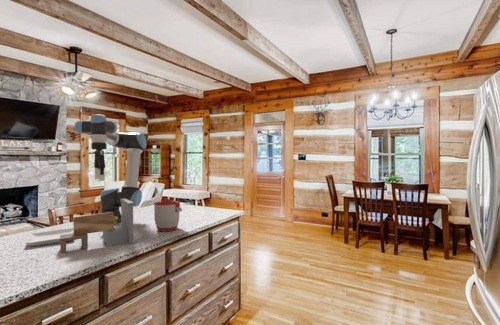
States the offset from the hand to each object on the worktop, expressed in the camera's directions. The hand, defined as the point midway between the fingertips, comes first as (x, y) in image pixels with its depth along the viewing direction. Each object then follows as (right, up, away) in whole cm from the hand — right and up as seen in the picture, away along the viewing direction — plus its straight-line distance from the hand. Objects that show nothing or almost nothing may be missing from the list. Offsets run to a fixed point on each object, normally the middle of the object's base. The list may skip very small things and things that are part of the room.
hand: (99, 179), depth 158 cm
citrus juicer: (+34, -32, +17) cm, 50 cm away
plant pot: (0, -33, +11) cm, 34 cm away
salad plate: (-24, -34, -4) cm, 41 cm away
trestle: (-3, -33, -19) cm, 38 cm away
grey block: (+14, -33, -7) cm, 36 cm away
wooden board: (+5, -31, -13) cm, 34 cm away
